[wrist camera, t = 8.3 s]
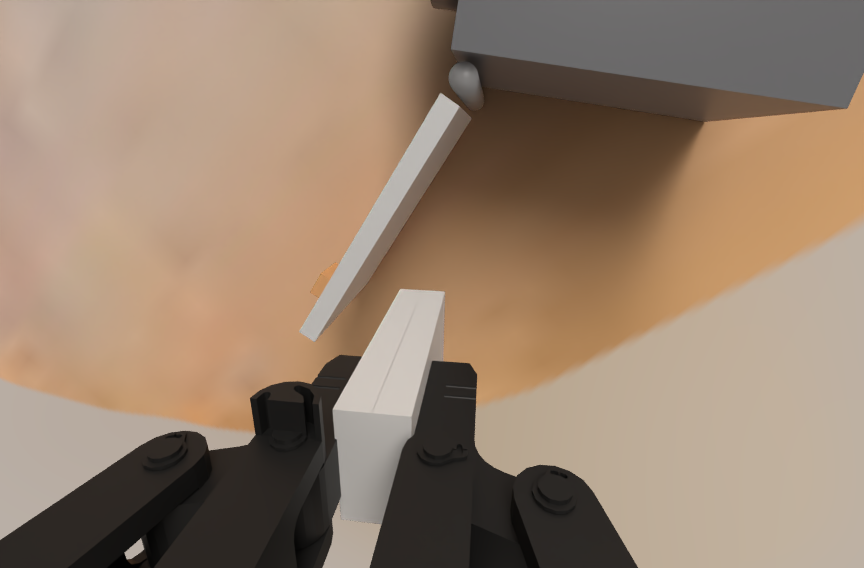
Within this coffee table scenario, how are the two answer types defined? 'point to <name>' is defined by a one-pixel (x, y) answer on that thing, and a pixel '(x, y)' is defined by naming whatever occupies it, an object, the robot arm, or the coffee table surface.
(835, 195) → the coffee table surface
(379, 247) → the side door
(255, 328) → the coffee table surface
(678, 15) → the camera body
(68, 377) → the coffee table surface
